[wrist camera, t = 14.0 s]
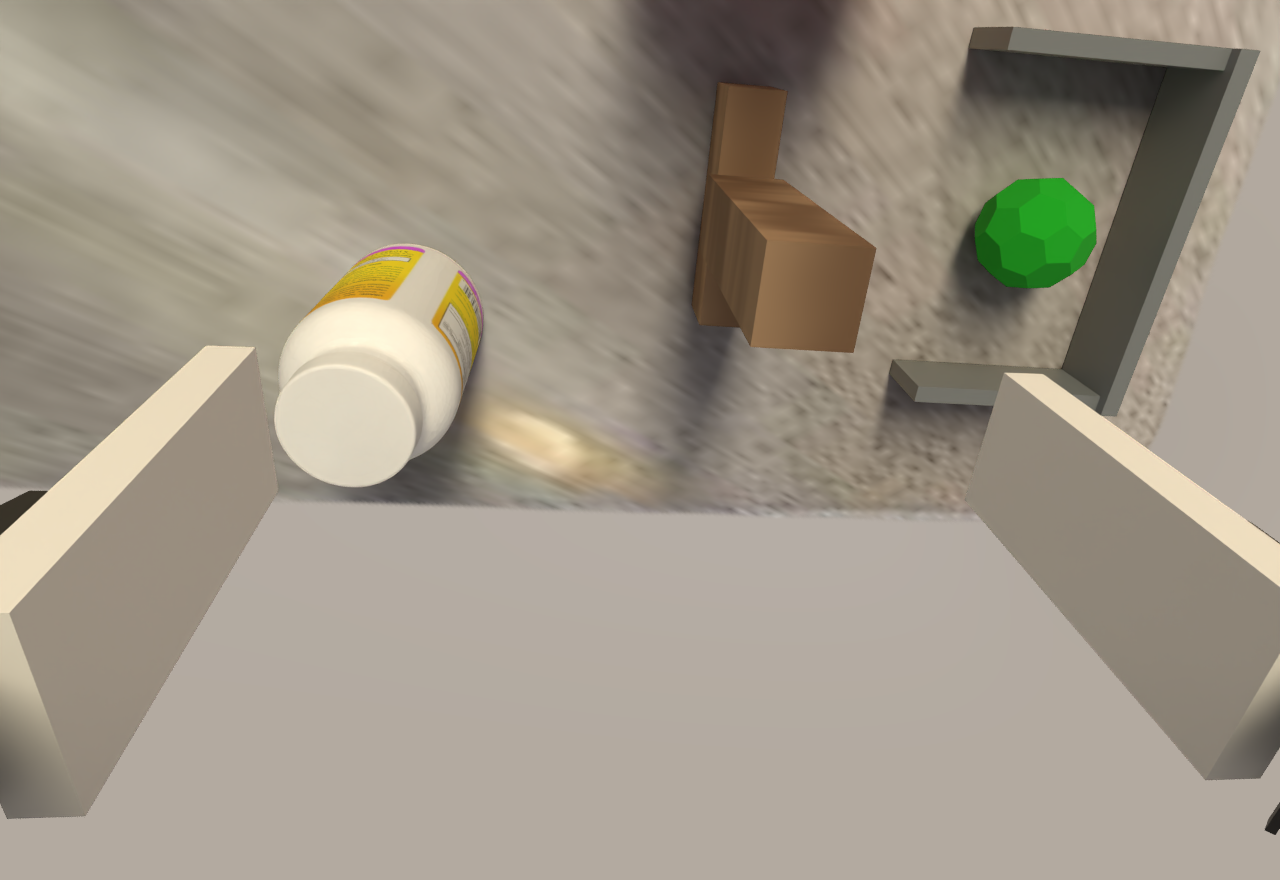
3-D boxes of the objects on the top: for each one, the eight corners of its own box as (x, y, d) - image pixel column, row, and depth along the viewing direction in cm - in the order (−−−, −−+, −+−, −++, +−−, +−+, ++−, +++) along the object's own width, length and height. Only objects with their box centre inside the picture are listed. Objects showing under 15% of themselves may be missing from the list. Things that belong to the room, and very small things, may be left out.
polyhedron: (936, 235, 38) (980, 260, 34) (1011, 145, 36) (1068, 161, 32) (1006, 292, 39) (1057, 323, 35) (1082, 208, 38) (1144, 231, 33)
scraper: (683, 304, 39) (735, 446, 25) (708, 81, 34) (787, 111, 21) (747, 308, 39) (831, 451, 26) (780, 87, 34) (904, 121, 21)
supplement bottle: (319, 324, 38) (204, 448, 26) (387, 210, 36) (295, 293, 24) (441, 397, 40) (384, 542, 29) (512, 295, 38) (482, 408, 26)
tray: (889, 373, 41) (918, 406, 37) (974, 27, 34) (1019, 26, 30) (1071, 383, 42) (1115, 416, 38) (1191, 49, 35) (1260, 50, 31)
